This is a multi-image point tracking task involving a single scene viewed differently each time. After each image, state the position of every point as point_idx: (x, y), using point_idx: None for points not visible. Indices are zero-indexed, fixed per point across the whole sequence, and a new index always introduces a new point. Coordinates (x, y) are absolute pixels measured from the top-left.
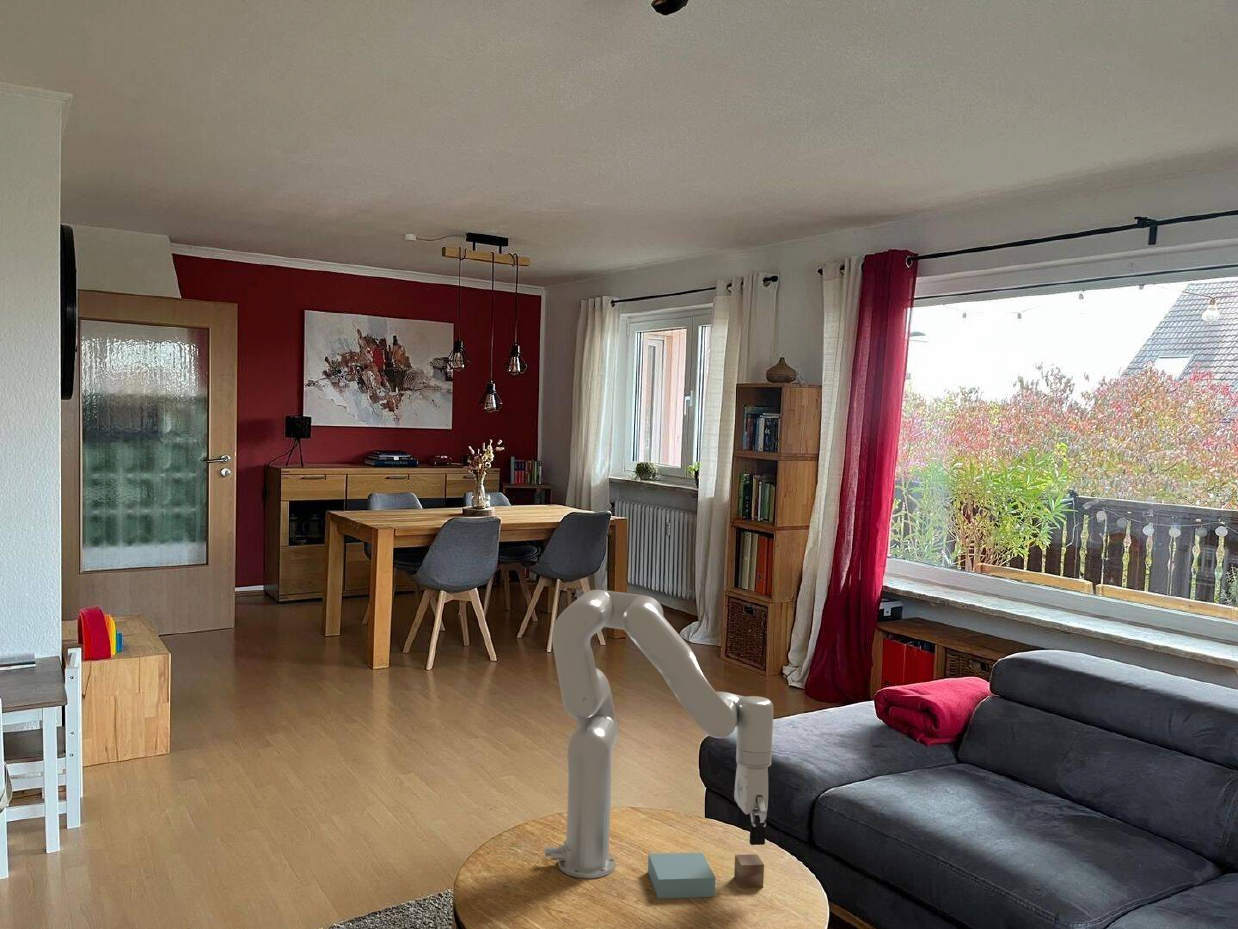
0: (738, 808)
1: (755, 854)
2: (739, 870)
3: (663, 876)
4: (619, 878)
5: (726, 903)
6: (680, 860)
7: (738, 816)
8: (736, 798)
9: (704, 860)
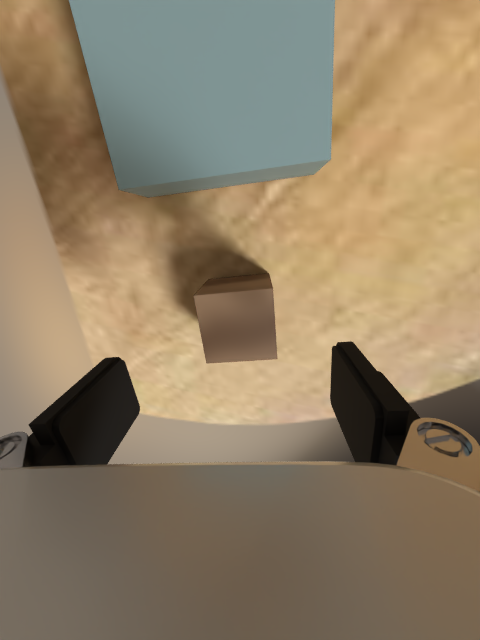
0: (386, 409)
1: (275, 353)
2: (216, 287)
3: None
4: None
5: (127, 228)
6: (253, 26)
7: (356, 371)
8: (323, 529)
9: (255, 160)
